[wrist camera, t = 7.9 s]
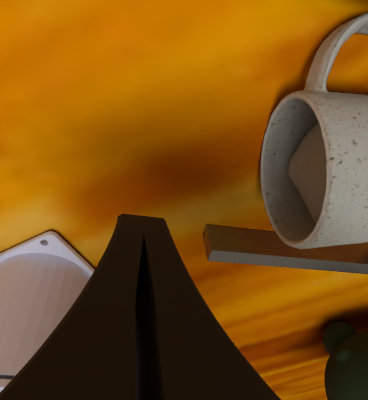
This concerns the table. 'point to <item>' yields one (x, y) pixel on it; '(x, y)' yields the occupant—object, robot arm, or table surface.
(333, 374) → the toy figurine
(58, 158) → the table surface
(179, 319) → the robot arm
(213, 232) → the coupler cradle
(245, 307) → the table surface
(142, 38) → the table surface
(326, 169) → the ceramic mug
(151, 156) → the table surface
